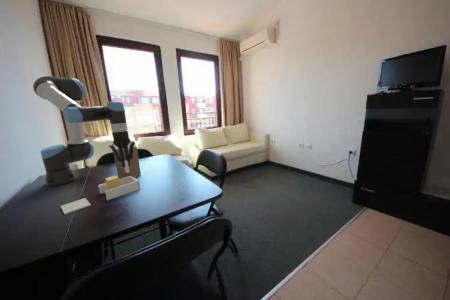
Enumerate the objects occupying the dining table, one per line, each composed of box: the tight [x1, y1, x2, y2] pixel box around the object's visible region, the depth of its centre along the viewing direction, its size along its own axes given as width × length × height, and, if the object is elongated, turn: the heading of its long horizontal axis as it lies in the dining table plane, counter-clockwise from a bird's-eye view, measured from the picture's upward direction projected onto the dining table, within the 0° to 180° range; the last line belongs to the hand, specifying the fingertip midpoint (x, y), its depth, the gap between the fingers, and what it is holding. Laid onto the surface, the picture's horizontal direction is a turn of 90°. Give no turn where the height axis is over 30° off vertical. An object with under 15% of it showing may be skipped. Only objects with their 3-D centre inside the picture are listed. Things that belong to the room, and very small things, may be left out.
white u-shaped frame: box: [97, 176, 141, 201], centre depth 106 cm, size 12×17×5 cm
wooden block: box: [113, 145, 142, 179], centre depth 124 cm, size 10×10×20 cm
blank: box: [105, 175, 120, 190], centre depth 103 cm, size 5×5×9 cm
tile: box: [60, 197, 92, 215], centre depth 91 cm, size 10×10×1 cm
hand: (127, 171), depth 107 cm, fingers closed
